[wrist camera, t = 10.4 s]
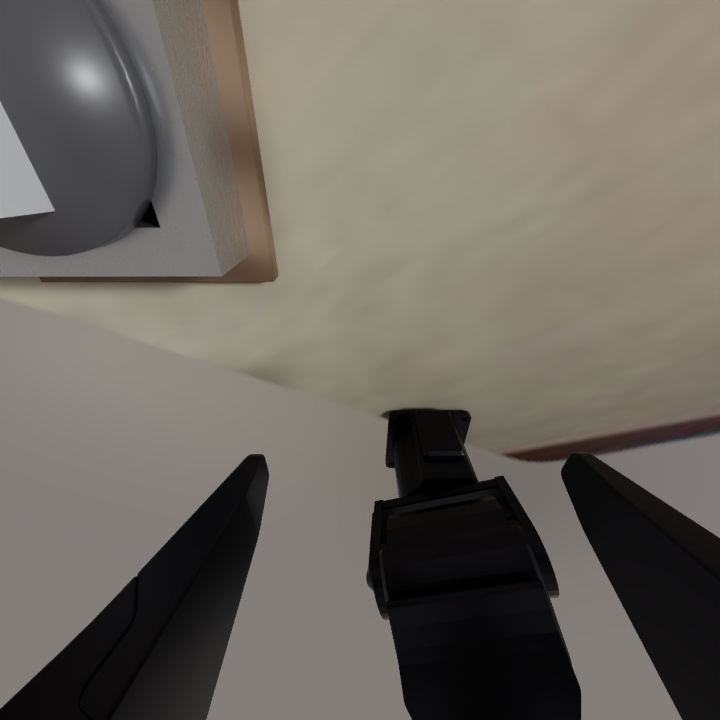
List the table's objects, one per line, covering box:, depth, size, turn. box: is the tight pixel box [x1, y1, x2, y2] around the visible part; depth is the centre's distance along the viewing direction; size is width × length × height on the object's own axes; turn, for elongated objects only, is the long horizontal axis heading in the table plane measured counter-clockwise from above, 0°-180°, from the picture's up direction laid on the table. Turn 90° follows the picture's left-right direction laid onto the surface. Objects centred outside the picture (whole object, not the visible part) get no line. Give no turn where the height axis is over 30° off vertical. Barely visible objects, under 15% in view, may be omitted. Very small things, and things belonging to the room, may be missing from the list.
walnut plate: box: [39, 0, 278, 282], centre depth 13 cm, size 14×13×1 cm
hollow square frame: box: [0, 0, 250, 277], centre depth 11 cm, size 11×11×4 cm
